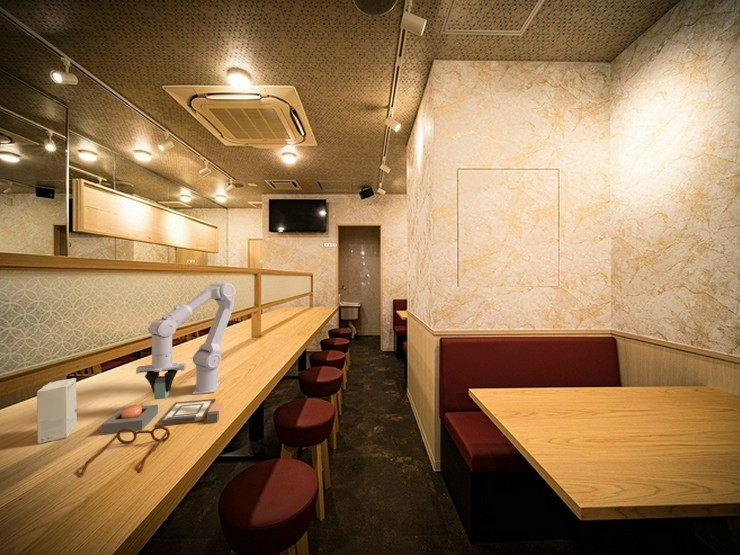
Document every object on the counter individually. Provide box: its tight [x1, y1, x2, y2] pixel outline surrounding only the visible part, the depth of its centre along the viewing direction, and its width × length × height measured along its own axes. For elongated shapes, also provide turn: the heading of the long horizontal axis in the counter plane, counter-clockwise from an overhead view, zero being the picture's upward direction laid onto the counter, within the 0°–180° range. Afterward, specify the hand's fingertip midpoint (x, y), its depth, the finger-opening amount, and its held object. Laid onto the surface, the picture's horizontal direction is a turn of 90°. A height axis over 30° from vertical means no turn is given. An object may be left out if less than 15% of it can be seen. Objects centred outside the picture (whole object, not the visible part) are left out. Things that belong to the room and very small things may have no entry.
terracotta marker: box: [206, 402, 224, 424], centre depth 91 cm, size 7×3×3 cm, turn 16°
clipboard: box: [154, 398, 216, 428], centre depth 93 cm, size 15×13×2 cm
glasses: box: [78, 426, 171, 478], centre depth 71 cm, size 13×13×5 cm
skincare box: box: [36, 377, 78, 445], centre depth 79 cm, size 8×6×15 cm
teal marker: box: [153, 375, 170, 400], centre depth 96 cm, size 3×3×7 cm
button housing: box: [101, 404, 159, 435], centre depth 86 cm, size 10×10×3 cm
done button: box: [122, 404, 143, 419], centre depth 86 cm, size 5×5×3 cm
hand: (161, 391), depth 97 cm, fingers closed on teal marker, 3 cm apart
